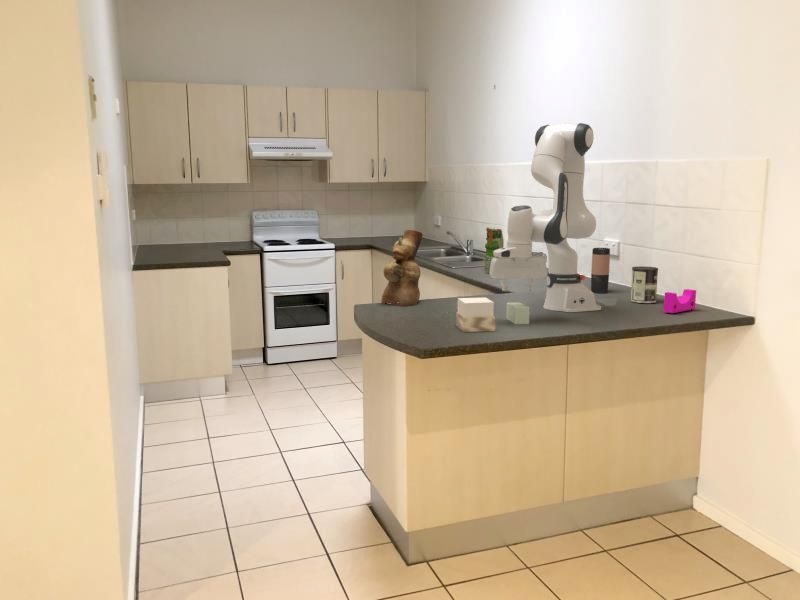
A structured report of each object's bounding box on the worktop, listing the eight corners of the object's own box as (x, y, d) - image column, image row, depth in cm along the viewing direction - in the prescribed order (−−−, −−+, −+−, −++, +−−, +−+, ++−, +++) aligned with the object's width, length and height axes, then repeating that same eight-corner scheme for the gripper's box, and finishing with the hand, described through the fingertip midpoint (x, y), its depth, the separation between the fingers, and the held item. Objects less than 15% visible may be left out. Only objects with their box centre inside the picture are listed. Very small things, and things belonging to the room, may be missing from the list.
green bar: (519, 318, 257) (519, 302, 256) (529, 324, 246) (529, 307, 245) (506, 318, 256) (506, 302, 255) (515, 324, 246) (515, 308, 245)
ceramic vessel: (373, 304, 285) (373, 231, 280) (403, 297, 302) (403, 228, 297) (405, 308, 276) (405, 232, 271) (435, 300, 294) (435, 229, 289)
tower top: (485, 311, 245) (485, 297, 244) (493, 316, 235) (493, 302, 234) (457, 312, 243) (457, 298, 243) (464, 317, 234) (464, 303, 233)
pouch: (502, 275, 371) (504, 228, 367) (480, 274, 375) (481, 227, 371) (506, 272, 382) (507, 226, 378) (485, 271, 386) (486, 226, 381)
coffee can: (656, 299, 295) (658, 266, 293) (656, 303, 286) (658, 269, 283) (630, 298, 299) (632, 265, 296) (630, 302, 289) (631, 268, 287)
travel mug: (611, 293, 311) (614, 248, 308) (597, 294, 308) (599, 249, 305) (600, 291, 318) (602, 247, 315) (586, 292, 315) (588, 248, 312)
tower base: (486, 325, 246) (486, 311, 245) (495, 331, 236) (495, 317, 235) (456, 326, 245) (456, 312, 244) (463, 333, 234) (463, 318, 233)
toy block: (680, 306, 281) (681, 288, 279) (694, 309, 276) (696, 290, 274) (657, 310, 272) (659, 291, 271) (672, 313, 267) (673, 293, 266)
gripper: (544, 251, 252) (542, 289, 254) (489, 251, 248) (487, 289, 251) (550, 252, 245) (548, 291, 248) (494, 252, 242) (492, 292, 244)
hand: (517, 290), depth 249 cm, fingers open, 8 cm apart
